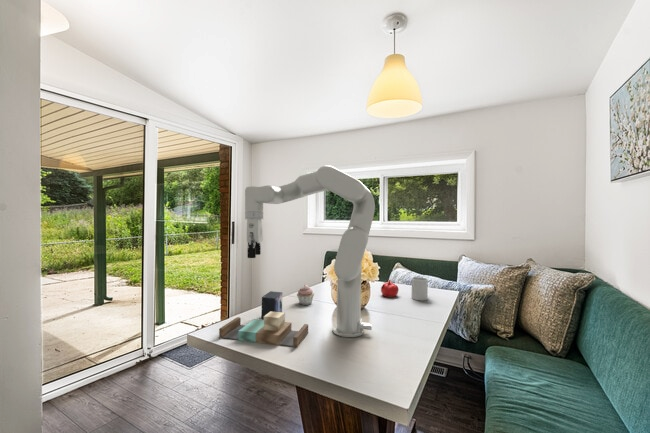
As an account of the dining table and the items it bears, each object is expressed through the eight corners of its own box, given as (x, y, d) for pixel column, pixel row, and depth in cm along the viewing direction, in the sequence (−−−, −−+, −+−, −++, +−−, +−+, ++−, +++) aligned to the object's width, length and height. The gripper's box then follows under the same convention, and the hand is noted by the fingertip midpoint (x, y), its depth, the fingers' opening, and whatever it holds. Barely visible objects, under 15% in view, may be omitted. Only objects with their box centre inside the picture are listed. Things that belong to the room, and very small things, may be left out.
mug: (424, 301, 163) (424, 281, 163) (408, 298, 169) (409, 279, 168) (431, 297, 173) (432, 277, 173) (417, 294, 178) (417, 275, 178)
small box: (274, 322, 132) (274, 297, 132) (260, 321, 133) (260, 297, 133) (283, 314, 142) (283, 291, 142) (269, 313, 143) (269, 290, 143)
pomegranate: (401, 295, 175) (402, 279, 175) (392, 299, 168) (393, 282, 168) (386, 292, 182) (386, 276, 182) (377, 295, 174) (377, 279, 174)
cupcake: (300, 300, 165) (300, 281, 164) (316, 301, 162) (316, 282, 162) (293, 305, 156) (293, 285, 155) (311, 306, 153) (311, 287, 153)
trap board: (308, 333, 120) (308, 324, 120) (297, 347, 107) (297, 337, 107) (237, 325, 127) (237, 317, 127) (219, 337, 115) (219, 328, 115)
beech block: (284, 325, 118) (284, 312, 118) (278, 331, 113) (278, 317, 112) (270, 323, 120) (270, 311, 120) (263, 329, 114) (263, 316, 114)
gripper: (258, 216, 120) (258, 259, 121) (266, 215, 138) (266, 253, 138) (239, 216, 120) (239, 259, 120) (250, 215, 138) (250, 253, 138)
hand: (254, 256), depth 129 cm, fingers open, 9 cm apart
